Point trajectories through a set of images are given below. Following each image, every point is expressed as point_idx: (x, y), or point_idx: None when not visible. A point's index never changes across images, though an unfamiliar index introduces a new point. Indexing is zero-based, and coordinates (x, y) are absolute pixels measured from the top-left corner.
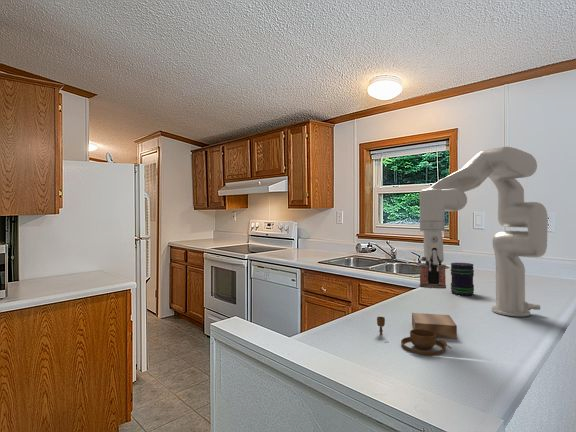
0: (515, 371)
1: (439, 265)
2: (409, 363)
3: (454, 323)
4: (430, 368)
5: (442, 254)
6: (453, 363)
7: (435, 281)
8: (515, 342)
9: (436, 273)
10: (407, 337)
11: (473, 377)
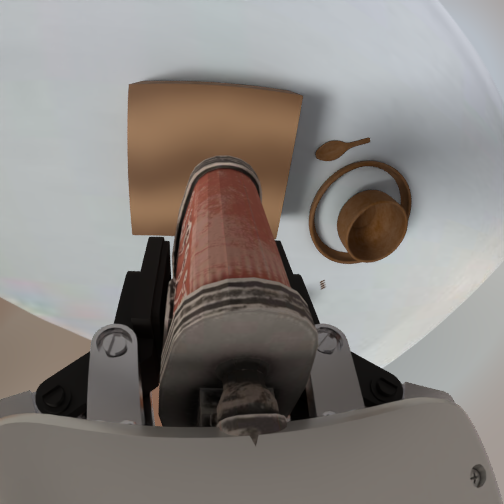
0: (475, 70)
1: (308, 374)
2: (426, 251)
3: (272, 93)
4: (448, 221)
5: (492, 470)
6: (442, 172)
7: (295, 276)
8: None
9: (319, 323)
10: (318, 247)
11: (482, 163)
